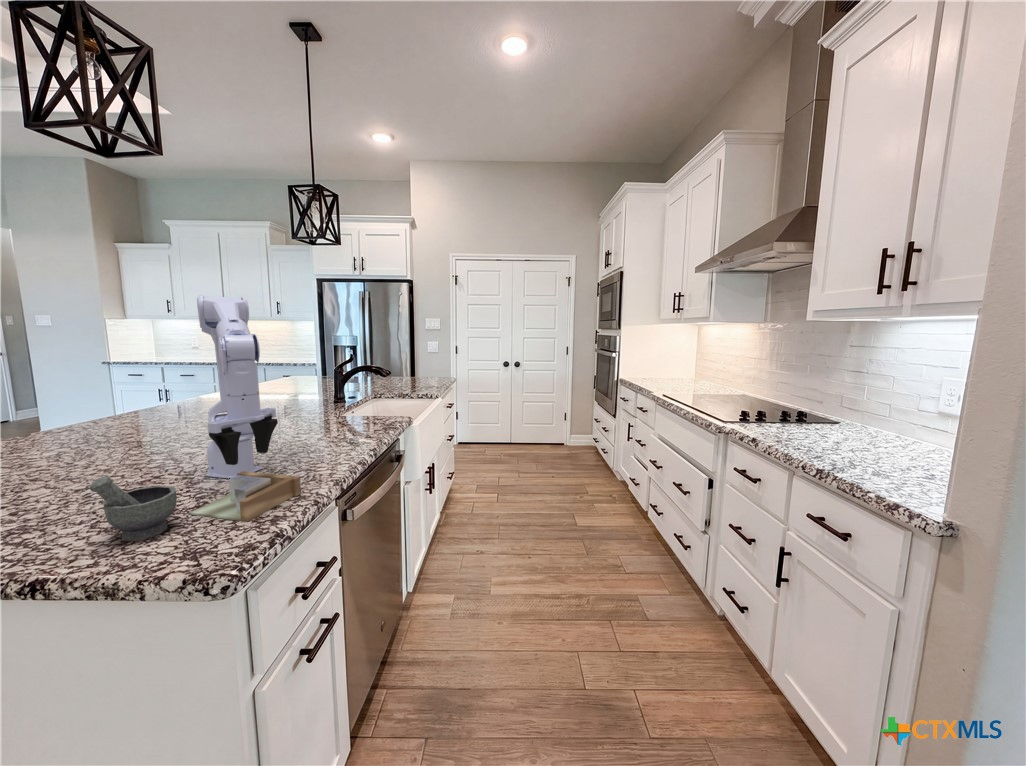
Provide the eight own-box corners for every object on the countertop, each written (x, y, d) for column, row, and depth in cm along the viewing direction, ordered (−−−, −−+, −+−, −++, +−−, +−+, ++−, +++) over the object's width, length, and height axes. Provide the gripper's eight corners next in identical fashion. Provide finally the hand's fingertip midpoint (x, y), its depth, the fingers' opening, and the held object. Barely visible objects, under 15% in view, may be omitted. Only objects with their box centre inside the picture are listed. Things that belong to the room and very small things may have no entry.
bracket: (272, 500, 85) (270, 478, 85) (246, 514, 79) (245, 490, 78) (240, 497, 87) (238, 475, 86) (212, 510, 80) (210, 486, 80)
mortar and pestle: (163, 515, 79) (157, 456, 77) (191, 525, 75) (184, 464, 73) (84, 542, 69) (75, 476, 67) (111, 556, 65) (102, 485, 63)
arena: (186, 514, 80) (184, 494, 79) (243, 487, 93) (242, 471, 92) (251, 522, 77) (249, 502, 76) (300, 493, 90) (299, 476, 89)
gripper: (227, 401, 74) (233, 471, 76) (286, 389, 88) (290, 449, 90) (196, 399, 75) (202, 468, 77) (258, 388, 89) (263, 446, 91)
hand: (247, 458), depth 84 cm, fingers open, 7 cm apart
